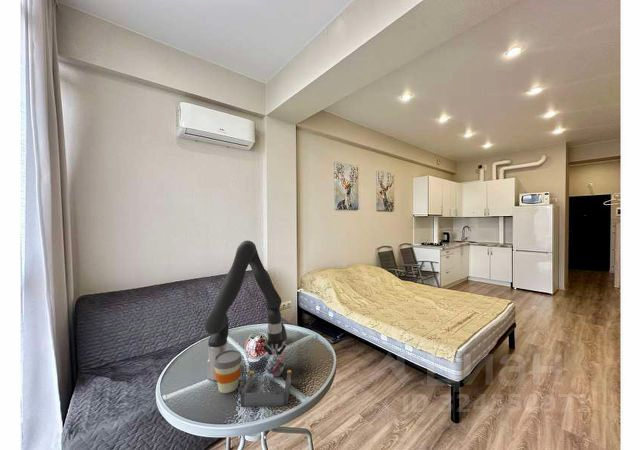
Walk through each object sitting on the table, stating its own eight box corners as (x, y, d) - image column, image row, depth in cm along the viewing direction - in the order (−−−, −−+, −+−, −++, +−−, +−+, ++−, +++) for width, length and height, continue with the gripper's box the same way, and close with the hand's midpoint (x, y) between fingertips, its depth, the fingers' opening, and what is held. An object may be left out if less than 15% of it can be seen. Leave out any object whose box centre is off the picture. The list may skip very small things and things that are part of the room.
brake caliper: (282, 381, 127) (281, 357, 126) (261, 380, 128) (260, 356, 128) (288, 368, 138) (288, 346, 138) (269, 367, 140) (268, 345, 139)
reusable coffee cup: (214, 398, 115) (214, 365, 115) (214, 382, 127) (213, 353, 127) (243, 391, 120) (243, 359, 120) (240, 376, 132) (239, 347, 132)
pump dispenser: (281, 339, 173) (280, 316, 173) (290, 344, 165) (289, 321, 165) (268, 344, 166) (267, 321, 166) (276, 350, 158) (276, 325, 158)
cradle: (240, 406, 110) (240, 393, 110) (250, 382, 127) (250, 370, 127) (287, 405, 110) (287, 392, 110) (291, 381, 127) (291, 370, 127)
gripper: (261, 333, 136) (261, 365, 136) (286, 333, 136) (286, 365, 136) (263, 327, 143) (264, 358, 143) (287, 327, 143) (288, 357, 144)
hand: (275, 361), depth 140 cm, fingers closed
